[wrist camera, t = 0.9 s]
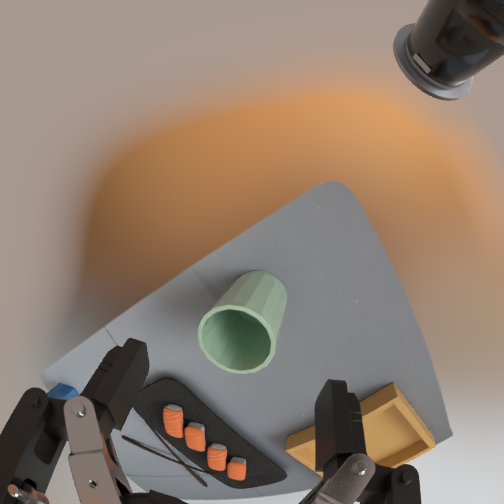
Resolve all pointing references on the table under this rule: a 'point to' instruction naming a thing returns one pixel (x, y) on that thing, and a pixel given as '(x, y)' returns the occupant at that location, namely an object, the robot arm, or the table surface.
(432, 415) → the table surface
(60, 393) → the perfume bottle
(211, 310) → the teacup
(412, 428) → the tray
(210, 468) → the sushi plate
